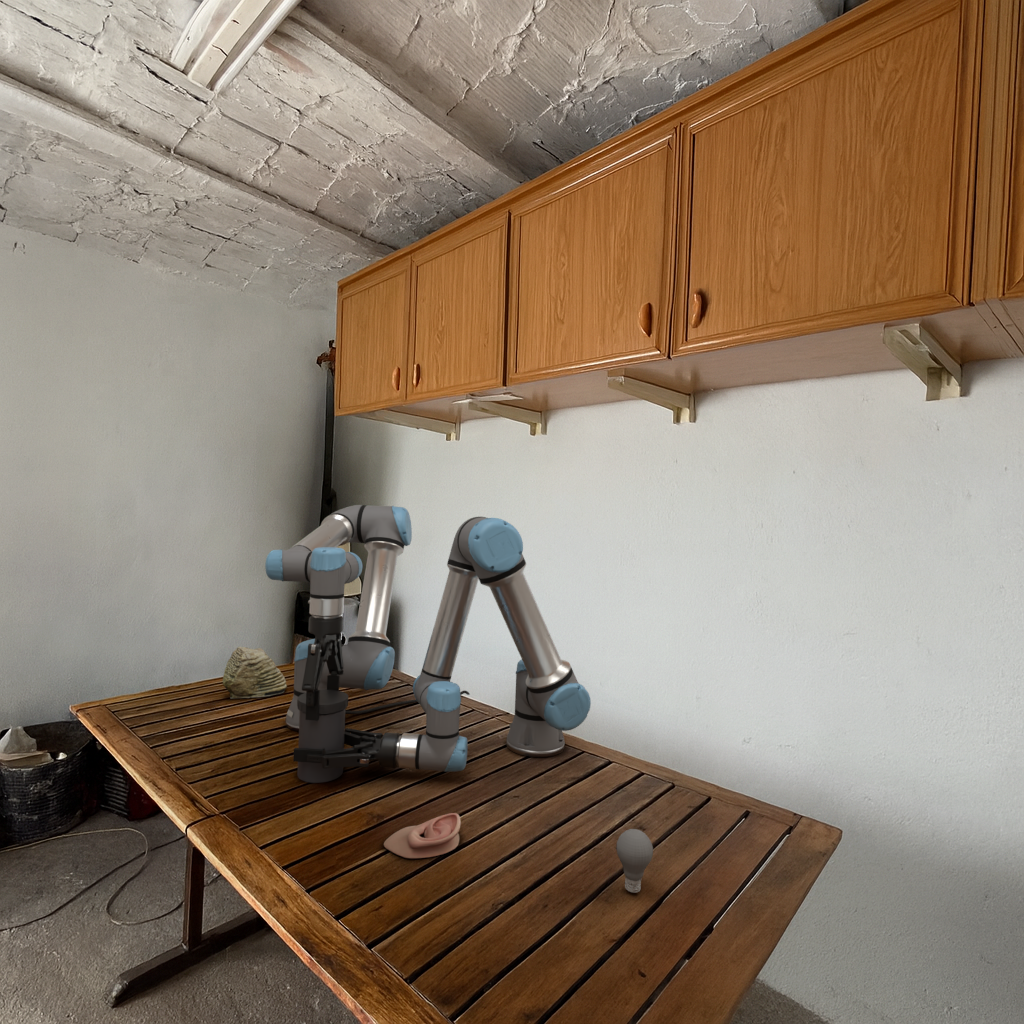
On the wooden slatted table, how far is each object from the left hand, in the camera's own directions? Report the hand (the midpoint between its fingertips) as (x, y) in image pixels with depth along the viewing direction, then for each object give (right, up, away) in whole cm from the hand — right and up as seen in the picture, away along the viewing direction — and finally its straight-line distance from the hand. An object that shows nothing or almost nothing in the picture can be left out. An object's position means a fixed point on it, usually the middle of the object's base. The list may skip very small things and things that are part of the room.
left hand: (322, 710), depth 145 cm
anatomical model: (+27, -16, -27) cm, 41 cm away
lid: (0, +3, 0) cm, 3 cm away
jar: (-1, -14, 0) cm, 14 cm away
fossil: (-37, -12, +53) cm, 66 cm away
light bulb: (+63, -18, -39) cm, 77 cm away
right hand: (-5, -8, 0) cm, 9 cm away
